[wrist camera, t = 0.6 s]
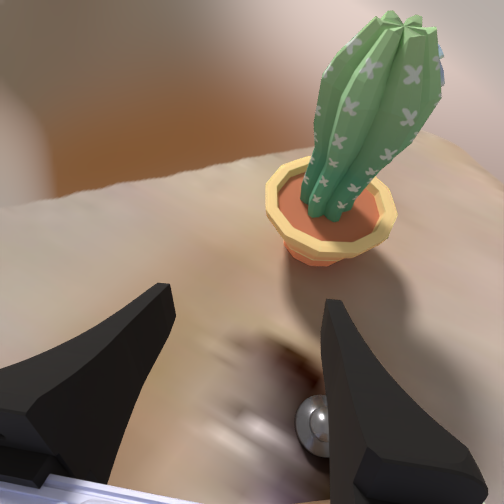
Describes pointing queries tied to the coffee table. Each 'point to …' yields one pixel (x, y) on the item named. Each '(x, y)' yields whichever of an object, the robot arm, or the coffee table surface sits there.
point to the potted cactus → (357, 141)
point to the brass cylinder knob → (320, 424)
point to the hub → (304, 430)
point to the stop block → (317, 502)
